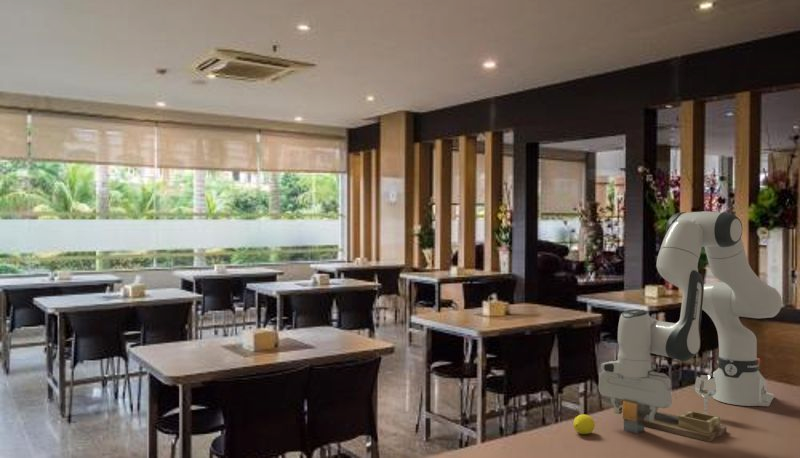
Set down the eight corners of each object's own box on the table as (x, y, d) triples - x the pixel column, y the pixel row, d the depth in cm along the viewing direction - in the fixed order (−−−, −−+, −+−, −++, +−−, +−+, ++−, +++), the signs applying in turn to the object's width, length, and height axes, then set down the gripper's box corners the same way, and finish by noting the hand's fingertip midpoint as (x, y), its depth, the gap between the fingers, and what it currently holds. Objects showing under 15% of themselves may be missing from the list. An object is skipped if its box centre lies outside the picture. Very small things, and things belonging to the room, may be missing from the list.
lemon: (582, 431, 176) (583, 411, 177) (598, 436, 172) (600, 416, 172) (567, 432, 172) (568, 412, 172) (583, 437, 168) (585, 417, 168)
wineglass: (718, 419, 185) (718, 379, 185) (697, 418, 186) (697, 378, 186) (712, 414, 191) (713, 375, 191) (692, 413, 192) (692, 374, 192)
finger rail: (643, 413, 192) (643, 376, 192) (726, 432, 174) (726, 391, 174) (624, 421, 183) (624, 382, 183) (709, 441, 166) (709, 398, 166)
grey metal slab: (630, 427, 178) (630, 396, 178) (644, 430, 175) (644, 398, 175) (622, 430, 175) (622, 399, 175) (636, 434, 172) (636, 401, 172)
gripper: (675, 372, 169) (675, 423, 169) (607, 360, 184) (606, 407, 184) (665, 376, 165) (665, 428, 165) (595, 363, 180) (595, 411, 180)
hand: (633, 417), depth 175 cm, fingers open, 8 cm apart
